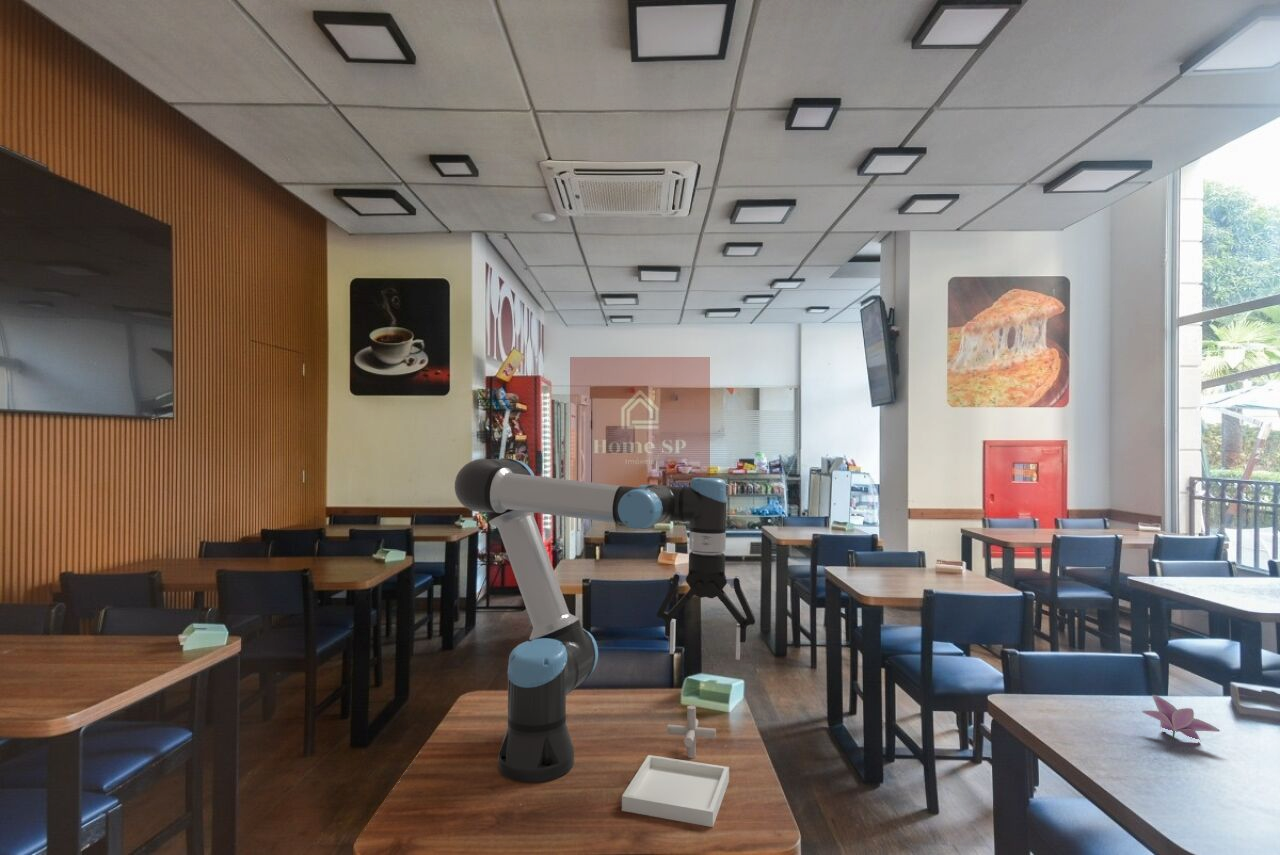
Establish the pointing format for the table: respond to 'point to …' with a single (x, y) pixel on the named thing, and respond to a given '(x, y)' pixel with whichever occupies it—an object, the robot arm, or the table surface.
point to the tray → (677, 790)
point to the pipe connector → (691, 731)
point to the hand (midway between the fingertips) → (704, 655)
